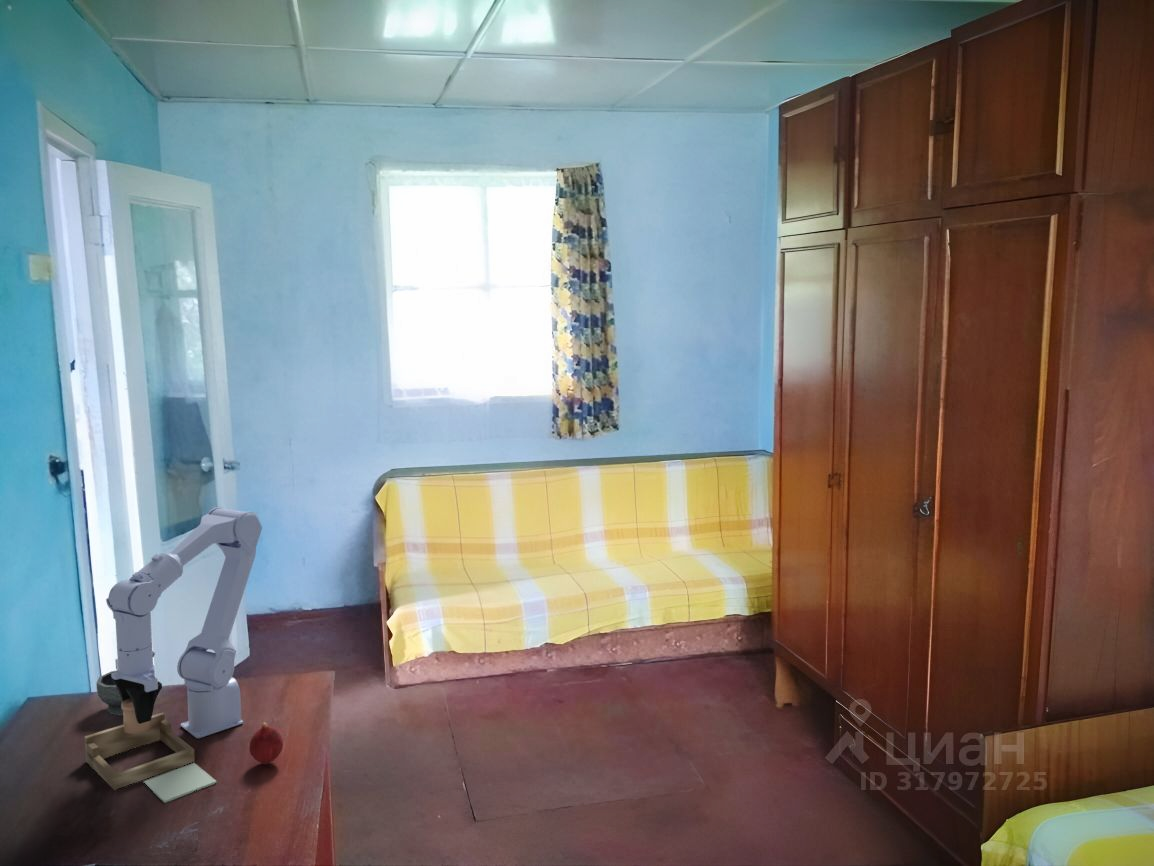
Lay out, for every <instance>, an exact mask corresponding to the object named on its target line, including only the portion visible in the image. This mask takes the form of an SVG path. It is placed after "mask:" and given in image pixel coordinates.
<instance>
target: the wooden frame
mask: <svg viewBox="0 0 1154 866" xmlns="http://www.w3.org/2000/svg"><path fill="white" fill-rule="evenodd" d="M165 716H166V715H165V713H164V712H160V713H156V714H152V718H151V719H152V727H151V728H150V729H149V730H147V731H144V732H141V733H133V734H130V733H126V732H124V723H123V724H120V725H117V726H114V727H111V728H106V729H104V730H101V731H98V732H95V733H91V734H88V735H84V749H85V750H84V751H85V763H88V764H89V765H88V766H89V767H90V768H91V769H92V770H93V769H94V770H95V771H96V772H97V773H98V774H97V773H96V772H95V771H94V770H93V771H94V772H95V773H96V774H97V775H98V776H99V775H100V776H101V777H102V778H103V779H104V780H105V781H106V782H107V783H108V784H109V785H110V786H111V787H112V788H113V789H114V790H115V791H117V790H116V789H118V788H121V787H123V786H126V785H128V784H132V783H134V782H137V781H140V780H143V779H146V780H148V779H147V778H149V779H151V778H153V777H152V776H154V777H156V776H159V774H160V775H162V774H165V773H167V772H170V771H173V770H176V768H177V769H179V768H181V767H184V765H185V766H187V764H188V765H190V764H189V763H191V764H193V763H195V762H196V761H195V759H196V757H195V748H193V747H192V746H191V745H189V744H188V743H187V742H186V741H185V740H183V739H182V738H181V737H179V736H178V735H177V734H176V733H175V732H173V731H172V730H173V729H172V723H171V722H170V721H168V720H167V719H166V717H165ZM155 741H156V742H159V741H161V742H162V743H164V745H166V746H167V747H168V748H170V750H172V751H173V752H174V751H175V752H174V753H171V754H169V755H166V756H163V757H160V758H157V759H154V760H152V761H149V762H146V763H143V764H140V765H136V766H134V767H131V768H128V769H125V770H122V771H120V772H118V771H116V769H114V768H113V767H112V766H111V764H109V763H108V762H107V761H106V760H105V759H107V758H110V756H111V757H113V755H114V756H116V755H115V754H117V755H119V754H118V753H120V752H123V753H125V752H124V751H126V750H128V749H131V748H134V747H138V746H141V745H144V746H146V745H145V744H147V745H149V744H148V743H150V744H152V743H151V742H153V743H156V742H155ZM141 747H142V746H141ZM138 748H139V747H138ZM126 752H127V751H126ZM120 754H121V753H120ZM192 762H193V763H192ZM100 776H99V777H100ZM101 777H100V778H101ZM150 777H151V778H150ZM102 778H101V779H102ZM103 779H102V780H103ZM104 780H103V781H104ZM105 781H104V782H105ZM143 781H144V780H143ZM106 782H105V783H106ZM140 782H141V781H140ZM107 783H106V784H107ZM137 783H138V782H137ZM108 784H107V785H108ZM109 785H108V786H109ZM132 785H133V784H132ZM110 786H109V787H110ZM111 787H110V788H111ZM126 787H127V786H126ZM112 788H111V789H112ZM113 789H112V790H113ZM121 789H122V788H121ZM114 790H113V791H114ZM118 790H119V789H118Z"/></svg>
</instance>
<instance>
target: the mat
mask: <svg viewBox="0 0 1154 866" xmlns="http://www.w3.org/2000/svg"><path fill="white" fill-rule="evenodd" d="M144 783H145V784H146V785H147V786H148V787H149V788H150V789H151V790H152V791H153V792H152V793H153V794H155V795H156V796H157V797H158V798H159V800H161V801H162V802H163V803H164V804H167V803H168V802H171V801H174V800H176V799H178V798H181V797H184V796H187V795H189V794H192V793H195V792H197V791H199V790H202V788H203V789H206V788H207V787H210V786H212V785H215V783H216V784H217V780H216V779H214V778H213V777H212V776H211V775H210V774H209V773H207V772H206V771H205V770H204V769H202V767H201V766H199V765H198V764H197V763H195V762H193V763H191V764H188V765H185V766H182V767H179V768H177V769H174V770H171V771H168V772H165V773H163V774H160V775H157V776H154V777H151V778H149V779H146V780H143V784H144ZM145 784H144V785H145ZM146 785H145V786H146ZM147 786H146V787H147ZM148 787H147V788H148ZM149 788H148V789H149ZM150 789H149V790H150ZM151 790H150V791H151ZM196 790H197V791H196ZM194 791H195V792H194Z"/></svg>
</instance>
